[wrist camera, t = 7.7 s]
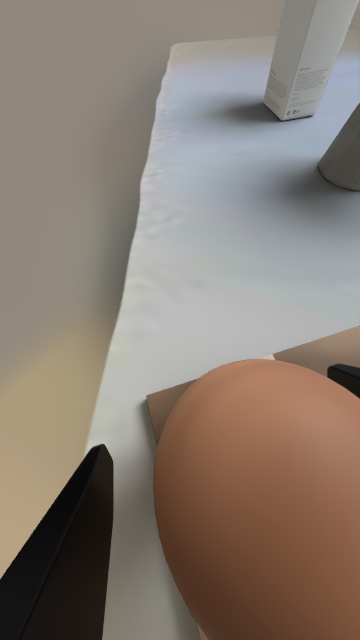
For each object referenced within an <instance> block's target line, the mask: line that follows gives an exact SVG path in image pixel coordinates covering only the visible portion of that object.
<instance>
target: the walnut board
mask: <svg viewBox="0 0 360 640" xmlns="http://www.w3.org/2000/svg"><path fill="white" fill-rule="evenodd" d="M259 359H269V360H278V361H283V362H287V363H292V364H296V365H299V366H302V367H305V368H308V369H310V370H313V371H315V372H317V373H319V374H321V375H323V376H325V377H327V368H328V367H329V366H331V365H334V364H337V363H340V364H345V365H350V366H354V367H359V368H360V326H358V327H355V328H352V329H349V330H345V331H342V332H339V333H336V334H333V335H330V336H327V337H324V338H321V339H318V340H315V341H312V342H309V343H306V344H303V345H300V346H297V347H294V348H290V349H287V350H284V351H281V352H278V353H275V354H272V355H269V356H265V357H262V358H259ZM196 380H198V379H196ZM196 380H193V381H190V382H187V383H184V384H181V385H177V386H174V387H171V388H168V389H165V390H162V391H159V392H156V393H153V394H150V395H147V396H146V397H147V401H148V406H149V410H150V415H151V419H152V424H153V428H154V433H155V437H156V442H157V446H158V443H159V440H160V436H161V433H162V430H163V428H164V425H165V422H166V420H167V418H168V416H169V414H170V412H171V410H172V408H173V407H174V405H175V404H176V402H177V401H178V400H179V398H180V397H181V395H182V394H183V393H184V392H185V391H186V390H187V389H188V388H189V386H190V385H192V384H193V383H194V382H195V381H196ZM197 626H198V631H199V635H200V640H209V639H208V638H207V637H206V635H205V634H204V632H203V631H202V629H201V628H200V626H199V625H198V623H197Z"/></svg>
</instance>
